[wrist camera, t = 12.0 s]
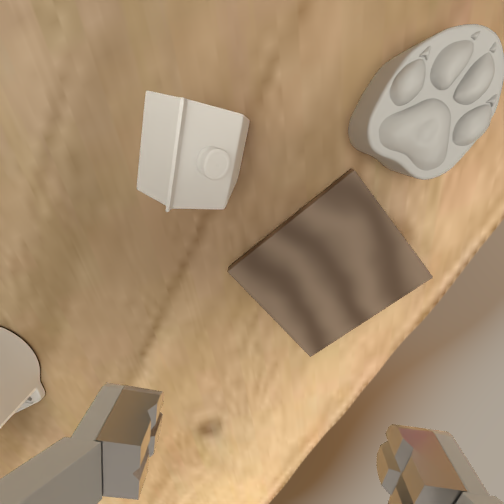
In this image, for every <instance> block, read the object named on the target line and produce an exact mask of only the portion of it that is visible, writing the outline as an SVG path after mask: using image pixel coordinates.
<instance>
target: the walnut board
mask: <svg viewBox="0 0 504 504" xmlns="http://www.w3.org/2000/svg"><path fill="white" fill-rule="evenodd" d="M228 273H229V274H230V275H231V276H232V277H233V278H234V279H235V280H236V281H237V282H238V283H239V284H240V285H241V286H242V287H243V288H244V289H245V290H246V291H247V292H248V293H249V294H250V295H251V296H252V297H253V298H254V299H255V300H256V301H257V302H258V304H259V305H260V306H261V307H262V308H263V309H264V310H265V311H266V312H267V313H268V314H269V315H270V316H271V317H272V318H273V319H274V320H275V321H276V322H277V323H278V324H279V325H280V326H281V327H282V328H283V329H284V330H285V331H286V332H287V333H288V334H289V335H290V336H291V337H292V339H293V340H294V341H295V342H296V343H297V344H298V345H299V346H300V347H301V348H302V349H303V350H304V351H305V352H306V353H307V354H308V355H309V356H310V357H311V356H313V355H314V354H316V353H317V352H319V351H320V350H322V349H323V348H325V347H326V346H328V345H330V344H331V343H333V342H334V341H336V340H337V339H339V338H340V337H342V336H343V335H345V334H346V333H348V332H350V331H351V330H353V329H354V328H356V327H357V326H359V325H360V324H362V323H363V322H365V321H366V320H368V319H370V318H371V317H373V316H374V315H376V314H377V313H379V312H380V311H382V310H383V309H385V308H386V307H388V306H390V305H391V304H393V303H394V302H396V301H397V300H399V299H400V298H402V297H403V296H405V295H407V294H408V293H410V292H411V291H413V290H414V289H416V288H417V287H419V286H420V285H422V284H423V283H425V282H427V281H428V280H430V279H431V278H433V276H432V275H431V274H430V272H429V271H428V270H427V268H426V267H425V266H424V264H423V263H422V262H421V260H420V259H419V257H418V256H417V255H416V253H415V252H414V251H413V249H412V248H411V247H410V245H409V244H408V243H407V241H406V240H405V238H404V237H403V236H402V234H401V233H400V232H399V230H398V229H397V228H396V226H395V225H394V224H393V222H392V221H391V219H390V218H389V217H388V215H387V214H386V213H385V211H384V210H383V209H382V207H381V206H380V205H379V203H378V202H377V200H376V199H375V198H374V196H373V195H372V194H371V192H370V191H369V190H368V188H367V187H366V186H365V184H364V183H363V181H362V180H361V179H360V177H359V176H358V175H357V173H356V172H355V171H354V170H352V169H350V170H349V171H348V172H346V173H345V174H344V175H343V176H341V177H340V178H339V179H338V180H336V181H335V182H334V183H333V184H331V185H330V186H329V187H328V188H326V189H325V190H324V191H323V192H321V193H320V194H319V195H318V196H316V197H315V198H314V199H313V200H311V201H310V202H309V203H308V204H307V205H305V206H304V207H303V208H302V209H300V210H299V211H298V212H297V213H295V214H294V215H293V216H292V217H290V218H289V219H288V220H287V221H285V222H284V223H283V224H282V225H280V226H279V227H278V228H277V229H275V230H274V231H273V232H272V233H270V234H269V235H268V236H267V237H265V238H264V239H263V240H262V241H260V242H259V243H258V244H257V245H255V246H254V247H253V248H252V249H251V250H249V251H248V252H247V253H246V254H244V255H243V256H242V257H241V258H239V259H238V260H237V261H236V262H234V263H233V264H232V265H231V266H229V268H228Z"/></svg>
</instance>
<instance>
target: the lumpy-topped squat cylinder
mask: <svg viewBox="0 0 504 504" xmlns="http://www.w3.org/2000/svg"><path fill="white" fill-rule="evenodd" d="M503 80H504V54H503V49H502V45H501V42H500V39H499V37H498V36H497V34H496V33H495V32H493V31H492V30H491V29H489V28H488V27H485V26H482V25H478V24H466V25H460V26H455V27H451V28H448V29H446V30H443V31H441V32H439V33H437V34H435V35H433V36H432V37H430V38H428V39H426V40H424V41H422V42H420V43H419V44H417V45H415V46H413V47H411V48H409V49H407V50H406V51H404V52H402V53H400V54H399V55H397V56H395V57H394V58H392V59H391V60H389V61H388V62H386V63H385V64H384V65H383V66H382V67H381V68H380V69H379V70H378V72H377V73H376V74H375V76H374V77H373V79H372V80H371V81H370V83H369V85H368V86H367V88H366V89H365V91H364V93H363V94H362V96H361V98H360V100H359V102H358V104H357V106H356V108H355V110H354V112H353V114H352V116H351V119H350V122H349V127H348V135H349V140H350V142H351V144H352V146H353V147H354V148H356V149H357V150H359V151H361V152H363V153H366V154H368V155H371V156H373V157H374V158H376V159H377V160H378V161H379V162H380V163H382V164H383V165H384V166H385V167H386V168H388V169H390V170H392V171H395V172H399V173H402V174H405V175H408V176H411V177H414V178H417V179H422V180H426V179H432V178H435V177H438V176H440V175H442V174H444V173H446V172H447V171H448V170H450V169H451V168H452V167H453V166H454V165H455V164H456V163H457V162H458V161H459V160H460V159H461V158H462V157H463V155H464V154H465V153H466V152H467V151H468V150H469V149H470V148H471V146H472V145H473V144H474V143H475V141H476V140H477V139H478V138H480V137H481V136H482V135H483V134H484V132H485V131H486V130H487V128H488V127H489V125H490V121H491V118H492V116H493V115H494V113H495V110H496V108H497V105H498V101H499V98H500V94H501V90H502V85H503Z"/></svg>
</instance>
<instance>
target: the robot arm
mask: <svg viewBox="0 0 504 504" xmlns="http://www.w3.org/2000/svg"><path fill="white" fill-rule="evenodd" d="M44 396H45V391H44V388H43V386H42V384H41V382H40V366H39V362H38V360H37V357H36V356H35V354H34V352H33V351H32V349H31V348H30V347H29V346H28V345H27V344H26V343H25V342H24V341H23V340H22V339H21V338H19V337H18V336H17V335H15V334H14V333H12V332H10V331H8V330H6V329H4V328H2V327H0V428H1V427H2V426H3V425H4V424H5V423H6V422H7V421H8V420H9V419H10V417H11V416H12V415H13V414H15V413H17V412H19V411H21V410H23V409H25V408H27V407H29V406H31V405H33V404H35V403H37V402H39V401H40V400H41V399H42V398H43V397H44ZM163 399H164V392H162V391H156V390H150V389H144V388H139V387H133V386H127V385H126V386H125V385H119V384H113V383H106V384H105V385H104V386H103V387H102V388H101V389H100V391H99V393H98V394H97V396H96V398H95V399H94V401H93V402H92V404H91V406H90V407H89V409H88V410H87V412H86V414H85V415H84V417H83V419H82V420H81V422H80V423H79V425H78V427H77V428H76V430H75V431H74V433H73V435H72V436H71V438H69V437H64V438H62V439H61V440H59V441H58V442H56V443H54V444H53V445H51V446H50V447H48V448H47V449H45V450H44V451H42V452H41V453H39V454H38V455H36V456H35V457H33V458H32V459H30V460H29V461H27V462H25V463H24V464H22V465H21V466H19V467H18V468H16V469H15V470H13V471H12V472H10V473H9V474H7V475H6V476H4V477H3V478H1V479H0V504H97V503H98V502H99V501H100V500H101V499H102V496H107V497H117V498H127V499H137V500H139V497H140V494H141V491H142V488H143V485H144V482H145V479H146V476H147V473H148V464H149V457H151V456H152V455H153V454H154V452H155V448H156V445H157V442H158V438H159V434H160V429H161V423H162V413H161V412H160V410H161V408H162V405H163ZM386 436H387V439H388V441H387V442H385V443H383V444H382V445H380V448H379V451H378V453H377V471H378V476H379V479H380V482H381V485H382V486H383V487H384V488H385V490H386V491H387V492H388V493H389V494H390V498H389V501H388V504H504V503H503V502H502V501H501V500H500V499H498V498H497V497H495V496H490V495H489V493H488V492H487V490H486V488H485V487H484V485H483V484H482V482H481V480H480V479H479V477H478V475H477V474H476V472H475V471H474V469H473V467H472V466H471V464H470V463H469V461H468V460H467V458H466V456H465V455H464V453H463V452H462V450H461V448H460V447H459V445H458V444H457V442H456V440H455V439H454V437H453V436H452V435H451V434H450V433H449V432H445V431H439V430H431V429H425V428H418V427H409V426H402V425H394V424H392V425H391V426H389V427H388V430H387V432H386Z"/></svg>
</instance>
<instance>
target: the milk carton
mask: <svg viewBox="0 0 504 504" xmlns="http://www.w3.org/2000/svg"><path fill="white" fill-rule="evenodd" d="M249 123H250V120H249V119H248V118H247V117H245V116H244V115H243V114H240V113H236V112H233V111H229V110H225V109H222V108H218V107H214V106H211V105H207V104H203V103H200V102H196V101H192V100H189V99H186V98H183V97H181V98H180V97H175V96H170V95H166V94H161V93H156V92H152V91H146V95H145V105H144V115H143V126H142V136H141V146H140V157H139V167H138V178H137V190H139V191H141V192H142V193H144V194H146V195H148V196H149V197H151V198H153V199H155V200H157V201H158V202H160V203H162V204H164V205H166V212H169V211H170V210H171V209H224V208H225V207H226V205H227V203H228V200H229V198H230V196H231V194H232V191H233V189H234V187H235V185H236V182H237V180H238V176H239V172H240V167H241V162H242V157H243V152H244V148H245V143H246V138H247V133H248V129H249Z"/></svg>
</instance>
